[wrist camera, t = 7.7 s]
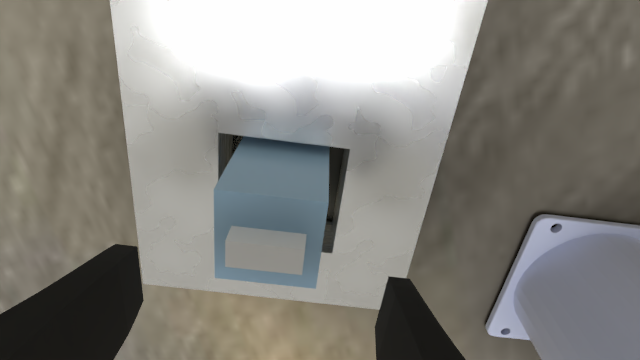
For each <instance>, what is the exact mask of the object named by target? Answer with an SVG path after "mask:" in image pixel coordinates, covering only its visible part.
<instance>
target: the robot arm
mask: <svg viewBox="0 0 640 360" xmlns="http://www.w3.org/2000/svg"><path fill="white" fill-rule="evenodd" d="M554 224H557V225H556V226H555V227H553V228H551V227H552V225H554ZM142 302H143V293H142V284H141V276H140V267H139V259H138V251H137V247H136V246H127V245H119V244H115V245H113V246H111V247H110V248H108V249H106V250H105V251H103V252H102V253H100V254H98V255H97V256H95V257H94V258H92V259H91V260H89V261H88V262H86V263H84V264H83V265H81V266H80V267H78V268H77V269H75V270H74V271H72V272H70V273H69V274H67V275H66V276H64V277H62V278H61V279H59V280H58V281H56V282H54V283H53V284H51V285H50V286H48V287H46V288H45V289H43V290H42V291H40V292H38V293H36V294H35V295H33V296H31V297H30V298H28V299H26V300H24V301H23V302H21V303H19V304H17V305H16V306H14V307H12V308H11V309H9V310H7V311H5V312H4V313H2V314H0V360H113V359H114V358H115V356H116V354H117V353H118V351H119V349H120V348H121V346H122V344H123V343H124V341H125V339H126V337H127V336H128V334H129V332H130V330H131V327H132V325H133V323H134V321H135V319H136V317H137V314H138V312H139V309H140V307H141V305H142ZM504 328H505V329H504ZM486 330H487V332H488V334H489V335H491V336H496V337H506V338H515V339H524V340H531V342H532V344H533V345H534V347H535V349H536V351H537V353H538V354H539V356H540V358H541V360H640V225H632V224H624V223H615V222H607V221H599V220H590V219H582V218H574V217H565V216H557V215H549V214H542V215H539V216H537V217H536V218H535V219H534V220H533V221H532V223H531V226H530V228H529V230H528V232H527V235H526V237H525V239H524V241H523V243H522V246H521V248H520V250H519V252H518V255H517V257H516V259H515V261H514V263H513V266H512V268H511V270H510V272H509V274H508V277H507V279H506V281H505V283H504V286H503V288H502V290H501V292H500V294H499V297H498V299H497V301H496V303H495V306H494V308H493V310H492V312H491V314H490V317H489V319H488V321H487V323H486ZM375 337H376V359H377V360H465V358H464V357H463V356H462V354H461V353H460V352H459V350H458V349H457V348H456V346H455V345H454V344H453V342H452V341H451V339H450V338H449V337H448V335H447V334H446V332H445V331H444V330H443V328H442V327H441V325H440V324H439V323H438V321H437V320H436V318H435V317H434V315H433V314H432V312H431V311H430V309H429V308H428V306H427V305H426V303H425V302H424V300H423V298H422V297H421V295H420V294H419V292H418V291H417V289H416V288H415V286H414V284H413V283H412V282H411V280H410V279H407V278H398V277H390V276H388V280H387V284H386V288H385V292H384V295H383V299H382V303H381V307H380V310H379V314H378V318H377V322H376V326H375Z"/></svg>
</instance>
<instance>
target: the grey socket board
mask: <svg viewBox="0 0 640 360" xmlns="http://www.w3.org/2000/svg"><path fill="white" fill-rule="evenodd" d="M487 1H488V0H110V5H111V14H112V22H113V31H114V39H115V48H116V56H117V65H118V73H119V82H120V90H121V99H122V107H123V116H124V124H125V133H126V141H127V150H128V158H129V167H130V175H131V184H132V192H133V201H134V209H135V218H136V226H137V235H138V243H139V252H140V260H141V269H142V277H143V284H150V285H159V286H169V287H178V288H187V289H196V290H205V291H214V292H223V293H232V294H241V295H250V296H259V297H269V298H278V299H287V300H296V301H305V302H314V303H323V304H332V305H341V306H350V307H360V308H369V309H378V310H380V307H381V303H382V299H383V295H384V292H385V288H386V284H387V280H388V276H390V277H398V278H406V277H407V274H408V270H409V267H410V263H411V260H412V257H413V253H414V250H415V246H416V243H417V240H418V236H419V233H420V229H421V226H422V223H423V219H424V216H425V212H426V209H427V206H428V202H429V199H430V195H431V192H432V189H433V185H434V182H435V178H436V175H437V172H438V168H439V165H440V161H441V158H442V155H443V151H444V148H445V144H446V141H447V137H448V134H449V131H450V127H451V124H452V120H453V117H454V114H455V110H456V107H457V103H458V100H459V97H460V93H461V90H462V86H463V83H464V80H465V76H466V73H467V69H468V66H469V63H470V59H471V56H472V52H473V49H474V46H475V42H476V39H477V35H478V32H479V29H480V25H481V22H482V18H483V15H484V12H485V8H486V5H487ZM233 135H240V136H248V137H256V138H264V139H272V140H280V141H288V142H297V143H305V144H313V145H321V146H329V147H337V148H344V153H343V159H342V165H341V171H340V177H339V183H338V189H337V195H336V201H335V208H334V214H333V220H332V222H330V221H326V224H325V231H324V238H323V244H322V251H321V258H320V265H319V271H318V278H317V285H316V289H313V288H304V287H294V286H285V285H276V284H266V283H257V282H248V281H238V280H229V279H220V278H215V260H214V188H215V186H216V184H217V183H218V181H219V179H220V177H221V175H222V174H223V172H224V170H225V168H226V166H227V165H228V163H229V161H230V159H231V158H232V152H233Z"/></svg>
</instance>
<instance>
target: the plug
mask: <svg viewBox="0 0 640 360" xmlns="http://www.w3.org/2000/svg"><path fill="white" fill-rule="evenodd" d="M328 204H329V146H321V145H313V144H305V143H297V142H288V141H280V140H272V139H264V138H256V137H248V136H243V138H242V140H241V142H240V143H239V145H238V147H237V149H236V150H235V152H234V154H233V156H232V158H231V159H230V161H229V163H228V165H227V166H226V168H225V170H224V172H223V174H222V175H221V177H220V179H219V181H218V183H217V184H216V186H215V188H214V260H215V278H220V279H229V280H238V281H248V282H257V283H266V284H276V285H285V286H294V287H304V288H313V289H316V285H317V278H318V271H319V265H320V258H321V251H322V244H323V238H324V231H325V224H326V217H327V211H328Z"/></svg>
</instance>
